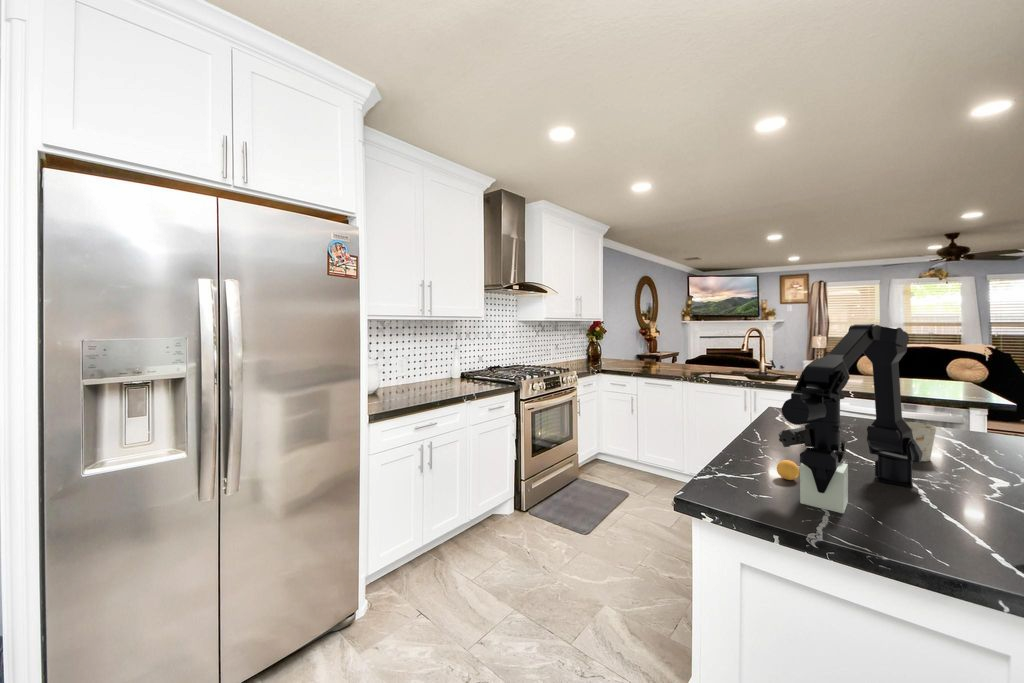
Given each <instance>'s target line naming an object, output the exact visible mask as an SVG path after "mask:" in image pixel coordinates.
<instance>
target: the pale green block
mask: <svg viewBox="0 0 1024 683" xmlns="http://www.w3.org/2000/svg"><path fill="white" fill-rule="evenodd" d="M799 471H800V473H799V489H800V490H799V492H800V493H799V496H800V497H799V503H800V504H802V505H807V506H811V507H813V508H819V509H824V510H828V511H832V512H835V513H840V514H845V511H846V508H847V506H848V503H849V464H848V463H844V462H840V463H839V462H838V467H837V469H836V471H835V473H834V475H833V477H832V479H831V481H830V483H829V485H828V487H827V489H826V491H825V493H819V492H818V490H817V487H816V484H815V480H814V477H813V474H812V471H811V469H810V468H808V467H807V466H806V465H804V464H803V463H801V464H800V465H799Z"/></svg>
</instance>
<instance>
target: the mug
mask: <svg viewBox="0 0 1024 683" xmlns="http://www.w3.org/2000/svg"><path fill="white" fill-rule="evenodd" d="M905 422H906V424H907V425H908V426H909V427H910V428H911V430H912V434H913V439H914V440H915V442H916V443H917V445H918V446H919V448H920V449H921V451H922V458H921V461H920V462H929V461H931V457H932V451H933V446H934V442H935V437H936V436H935V435H936V432H937V431H936V430H937V427H936V426H935V425H933V424H929V423H923V422H914V421H905Z"/></svg>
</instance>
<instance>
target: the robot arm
mask: <svg viewBox="0 0 1024 683" xmlns="http://www.w3.org/2000/svg"><path fill="white" fill-rule="evenodd" d="M909 341H910V337H909V334H908V332H907V331H905V330H904V329H903V328H902V327H887V326H882V325H878V324H874V323H860V324H857V323H856V324H853V325H850V326H849V328H848V332H847V333H846V334H845V335H844V336H843V337H842V338H841V339H840V341H838V342H837V343H836V345H835V346H834V347H833V348H831V350H830V351H829V352H828V353H827V354H826V355H825V356H822V357H819V358H817V359H814V360H813V361H811V362H809V363H808V364H807V365H806V366H804V368H803V370H802V371H801V373H800V376H799V378H798V381H797V383H796V384H795V387H794V388H793V389H794V390H793V391H792V393H790V398H789V399H787V400H786V401H784V403H783V404H782V406H781V414H782V416H783V417H784V420H786V421H787V422H788V423H789V424H792V425H794V426H796V425H797V426H799V425H801V426H802V425H804V426H803V427H797V428H788V429H783V430H782V431H780V432H779V433H778V438H779V439H778V441H779V442H780V443H781V444H782V447H783V448H789V447H791V446H797V445H802V444H804V447H805V448H804V449H803V450H802V451H801V452H800V453H799V463H803V464H804V465H806V466H807V467H808V468H810V469H811V471H812V474H813V477H814V480H815V484H816V487H817V490H818V492H819V493H825V491H826V489H827V487H828V485H829V483H830V481H831V479H832V477H833V475H834V473H835V471H836V469H837V467H838V462H839V463H842V462H841V461H842V460H843V457H844V456H845V452H846V451H847V441H846V440H845V439H844V438H843V437H841V430H842V423H841V400H844V399H845V395H844V394H843V393H841V392H842V390H843V389H844V388H845V387H846V386H847V384H848V382H849V380H850V379H851V378H850V373H849V370H850V369H851V367H852V366H853V365H854V363H855V362H856V361H857V360H858V359H859V358H860V357H861V356H862V354H863V355H864V356H865V357H866V358H867V359H868V360H869V361H870V363H871V365H872V377H873V378H872V379H873V380H872V381H873V393H874V394H873V395H874V407H875V408H874V409H875V419H874V421H872V423H871V424H870V425H868V426H867V428H866V431H867V436H866V441H867V446H868V450H869V454H870V455H876V456H877V458H875V459H874V460H875V461H874V476H875V477H877V478H876V481H877V482H881V483H888V484H894V485H899V486H904V487H910V488H913V487H914V486H913V485H914V482H913V480H914V479H913V463H914V464H915V463H916V464H920V463H921V462H922V461H921V458H922V451H921V449H920V448H919V446H918V445H917V443H916V442H915V440H914V439H913V434H912V430H911V428H910V427H909V426H908V425H907V424H906V422H907V421H905V420H904V419H903V412H902V410H903V409H902V398H901V397H902V395H901V382H900V367H899V362H900V361H901V359H902V358H903V356H905V354H906V353H907V352H908V345H909ZM840 450H841V451H840Z"/></svg>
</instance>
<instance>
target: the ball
mask: <svg viewBox="0 0 1024 683" xmlns="http://www.w3.org/2000/svg"><path fill="white" fill-rule="evenodd" d="M776 472H777V474H778V475H779V476H780V477H781V478H782V479H785V480H788V481H792V480H796V479H797V478H798V477H800V466H798V464H796V463H795V462H794V461H792V460H789V459H784V460H781V461H779V462H778V464H777V465H776Z"/></svg>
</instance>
